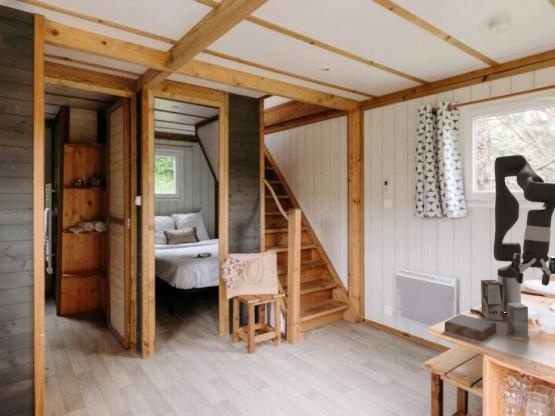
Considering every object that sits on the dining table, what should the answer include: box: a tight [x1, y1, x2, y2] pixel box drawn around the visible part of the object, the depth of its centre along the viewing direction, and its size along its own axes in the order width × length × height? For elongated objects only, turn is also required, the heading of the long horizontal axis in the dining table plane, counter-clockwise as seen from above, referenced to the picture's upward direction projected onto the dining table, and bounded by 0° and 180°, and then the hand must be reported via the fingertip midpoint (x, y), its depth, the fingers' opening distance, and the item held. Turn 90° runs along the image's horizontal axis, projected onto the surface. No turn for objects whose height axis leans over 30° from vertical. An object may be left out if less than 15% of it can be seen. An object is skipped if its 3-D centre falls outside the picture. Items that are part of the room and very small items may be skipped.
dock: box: [444, 313, 497, 342], centre depth 155 cm, size 15×13×4 cm
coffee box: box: [480, 279, 504, 321], centre depth 169 cm, size 9×6×16 cm
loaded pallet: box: [506, 302, 530, 341], centre depth 147 cm, size 6×6×13 cm
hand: (531, 284), depth 131 cm, fingers open, 8 cm apart
